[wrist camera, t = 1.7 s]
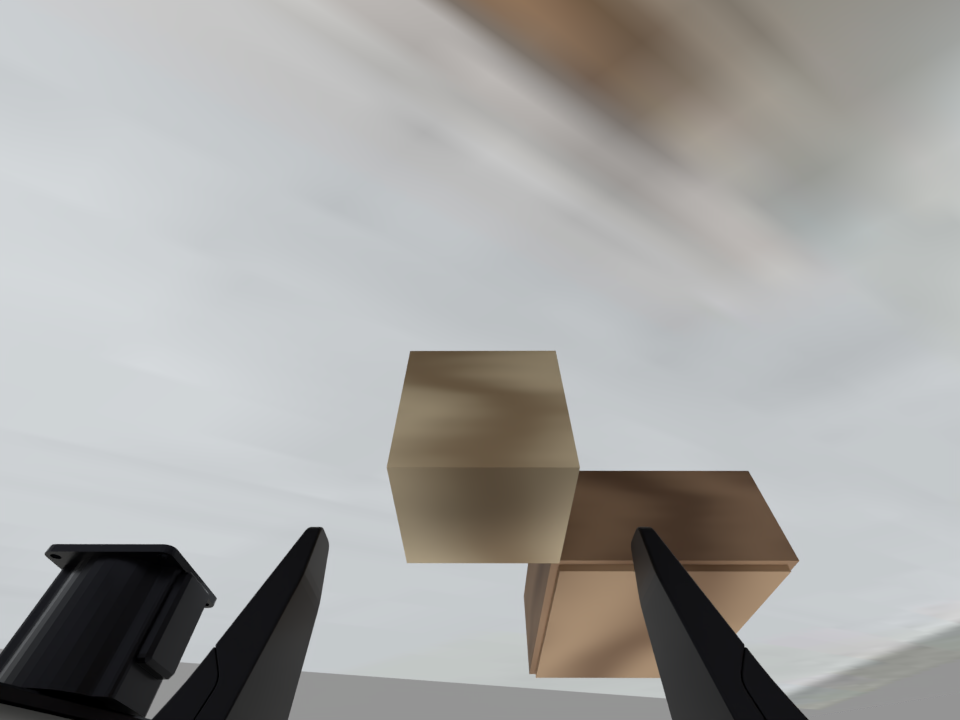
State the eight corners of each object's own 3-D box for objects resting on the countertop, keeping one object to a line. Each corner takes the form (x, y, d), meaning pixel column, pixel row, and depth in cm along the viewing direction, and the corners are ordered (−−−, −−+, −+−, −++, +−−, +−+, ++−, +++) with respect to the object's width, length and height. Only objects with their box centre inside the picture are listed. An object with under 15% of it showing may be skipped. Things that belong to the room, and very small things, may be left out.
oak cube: (422, 445, 19) (406, 563, 15) (410, 349, 16) (386, 467, 12) (543, 445, 19) (559, 563, 15) (555, 349, 16) (579, 467, 12)
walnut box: (523, 596, 27) (529, 679, 24) (540, 470, 20) (552, 567, 16) (674, 596, 27) (700, 679, 24) (748, 470, 20) (803, 567, 16)
